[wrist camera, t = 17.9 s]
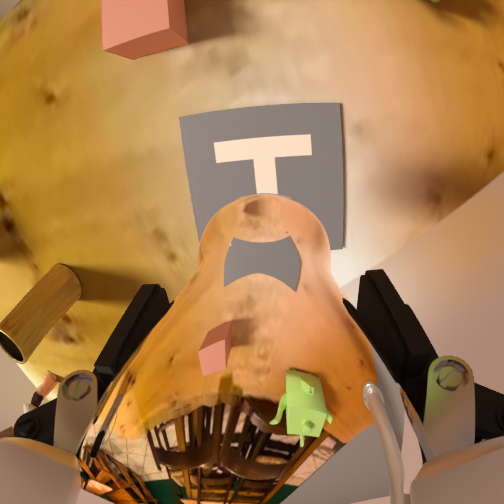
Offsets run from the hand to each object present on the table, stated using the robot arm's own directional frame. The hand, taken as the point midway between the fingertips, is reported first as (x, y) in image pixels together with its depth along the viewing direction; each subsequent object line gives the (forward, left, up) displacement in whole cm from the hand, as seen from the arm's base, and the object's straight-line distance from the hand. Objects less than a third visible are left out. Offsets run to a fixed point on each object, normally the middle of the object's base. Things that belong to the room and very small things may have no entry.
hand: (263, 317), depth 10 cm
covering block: (+9, -18, -20) cm, 28 cm away
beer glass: (0, 0, -5) cm, 5 cm away
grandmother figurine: (+49, +34, -20) cm, 63 cm away
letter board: (0, 0, -20) cm, 20 cm away
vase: (+29, +10, -20) cm, 37 cm away
